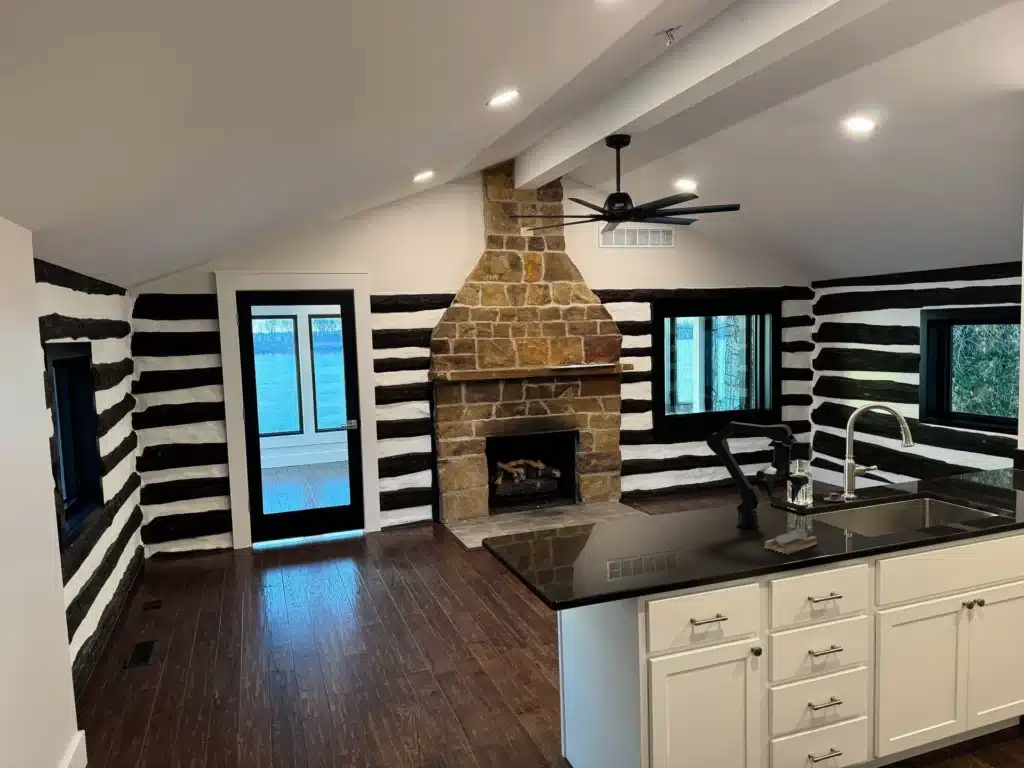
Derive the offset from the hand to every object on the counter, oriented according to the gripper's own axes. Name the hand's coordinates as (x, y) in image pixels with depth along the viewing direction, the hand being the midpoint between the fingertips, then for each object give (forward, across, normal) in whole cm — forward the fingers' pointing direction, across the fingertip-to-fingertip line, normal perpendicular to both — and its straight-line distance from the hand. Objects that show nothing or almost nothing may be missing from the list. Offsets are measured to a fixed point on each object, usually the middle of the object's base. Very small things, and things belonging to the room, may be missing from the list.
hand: (781, 499), depth 274 cm
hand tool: (+12, -17, +30) cm, 37 cm away
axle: (+11, +12, -14) cm, 22 cm away
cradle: (+12, +12, -14) cm, 22 cm away
